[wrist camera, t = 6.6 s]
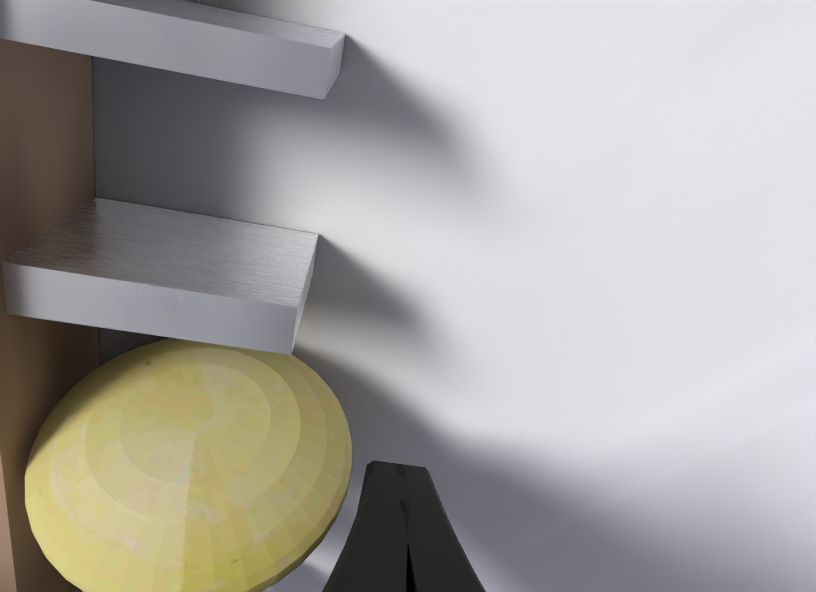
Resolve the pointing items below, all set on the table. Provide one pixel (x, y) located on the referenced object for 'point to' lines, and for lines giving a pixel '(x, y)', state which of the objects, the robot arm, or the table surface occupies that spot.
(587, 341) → the table surface
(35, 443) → the knob
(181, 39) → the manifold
